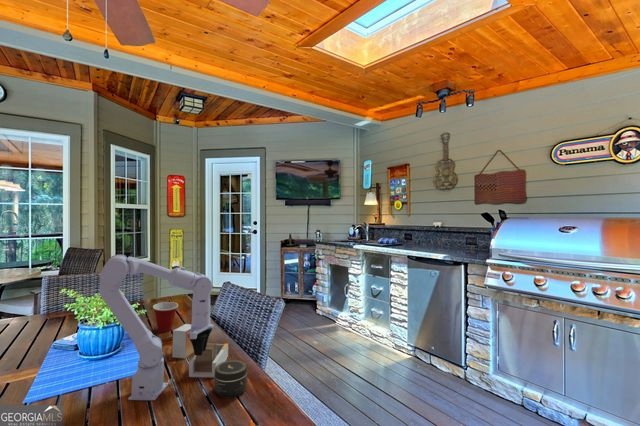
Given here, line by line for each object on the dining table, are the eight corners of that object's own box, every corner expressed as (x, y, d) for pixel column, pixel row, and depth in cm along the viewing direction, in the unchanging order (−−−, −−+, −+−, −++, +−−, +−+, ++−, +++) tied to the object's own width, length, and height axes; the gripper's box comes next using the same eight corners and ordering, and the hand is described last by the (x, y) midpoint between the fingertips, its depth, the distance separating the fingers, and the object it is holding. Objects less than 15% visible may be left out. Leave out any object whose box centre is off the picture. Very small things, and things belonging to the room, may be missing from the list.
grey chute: (215, 377, 112) (215, 362, 112) (188, 377, 112) (189, 361, 112) (227, 356, 128) (228, 343, 128) (204, 356, 128) (204, 343, 128)
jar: (230, 403, 98) (231, 377, 98) (206, 393, 102) (207, 369, 102) (253, 388, 106) (253, 364, 106) (230, 379, 111) (230, 357, 111)
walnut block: (211, 371, 114) (212, 349, 114) (195, 371, 114) (196, 348, 114) (216, 365, 119) (216, 343, 119) (200, 364, 119) (201, 343, 119)
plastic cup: (155, 336, 147) (156, 309, 147) (149, 329, 156) (150, 304, 156) (180, 331, 154) (181, 305, 154) (174, 325, 163) (174, 300, 163)
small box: (184, 359, 126) (185, 331, 126) (171, 357, 127) (172, 330, 127) (196, 350, 134) (197, 324, 134) (184, 349, 135) (185, 323, 135)
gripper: (205, 319, 103) (204, 362, 103) (219, 305, 117) (218, 344, 117) (183, 318, 103) (182, 362, 103) (199, 305, 117) (198, 343, 117)
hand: (200, 352), depth 110 cm, fingers open, 3 cm apart
